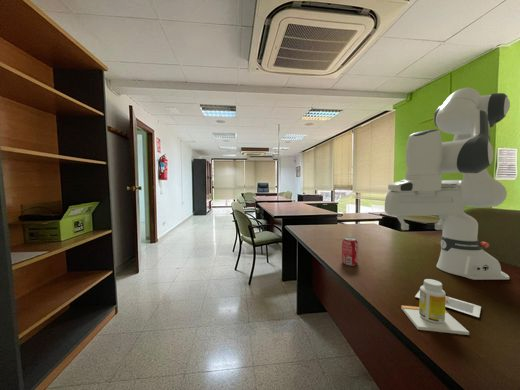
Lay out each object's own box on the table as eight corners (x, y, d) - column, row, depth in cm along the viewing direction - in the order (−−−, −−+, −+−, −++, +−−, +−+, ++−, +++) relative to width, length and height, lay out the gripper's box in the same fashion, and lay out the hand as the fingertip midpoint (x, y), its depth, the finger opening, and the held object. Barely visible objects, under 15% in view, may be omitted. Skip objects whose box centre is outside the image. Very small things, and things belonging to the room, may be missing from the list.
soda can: (355, 261, 105) (355, 236, 105) (360, 266, 98) (360, 240, 98) (339, 260, 106) (340, 236, 105) (344, 266, 99) (344, 240, 98)
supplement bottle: (449, 321, 59) (450, 284, 58) (437, 326, 56) (439, 288, 56) (425, 310, 64) (427, 276, 63) (414, 315, 62) (415, 279, 61)
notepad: (444, 312, 64) (444, 309, 64) (469, 335, 55) (469, 331, 55) (401, 308, 66) (401, 305, 66) (417, 329, 57) (417, 325, 57)
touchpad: (478, 321, 61) (479, 313, 61) (414, 299, 72) (414, 293, 72) (480, 310, 66) (481, 303, 66) (420, 291, 77) (420, 285, 77)
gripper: (454, 183, 67) (453, 227, 68) (382, 185, 71) (382, 227, 72) (470, 183, 61) (468, 232, 62) (390, 186, 65) (390, 231, 66)
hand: (421, 229), depth 67 cm, fingers open, 8 cm apart
